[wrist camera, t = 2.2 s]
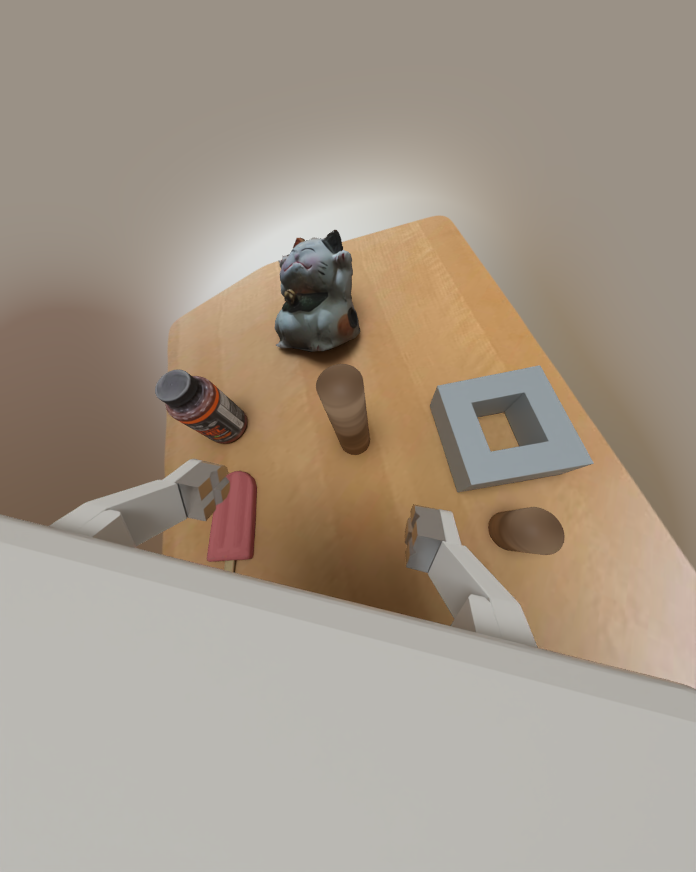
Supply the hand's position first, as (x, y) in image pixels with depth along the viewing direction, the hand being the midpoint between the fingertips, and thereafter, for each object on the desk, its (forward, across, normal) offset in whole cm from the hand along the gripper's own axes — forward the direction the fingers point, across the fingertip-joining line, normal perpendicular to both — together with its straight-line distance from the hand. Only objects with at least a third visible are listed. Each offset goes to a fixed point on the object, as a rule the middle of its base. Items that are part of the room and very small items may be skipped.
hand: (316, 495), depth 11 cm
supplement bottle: (+22, +19, +11) cm, 31 cm away
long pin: (+22, 0, +9) cm, 23 cm away
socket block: (+23, -17, +6) cm, 29 cm away
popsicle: (+12, +13, +20) cm, 27 cm away
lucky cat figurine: (+36, +10, -2) cm, 38 cm away
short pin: (+14, -19, +13) cm, 27 cm away
